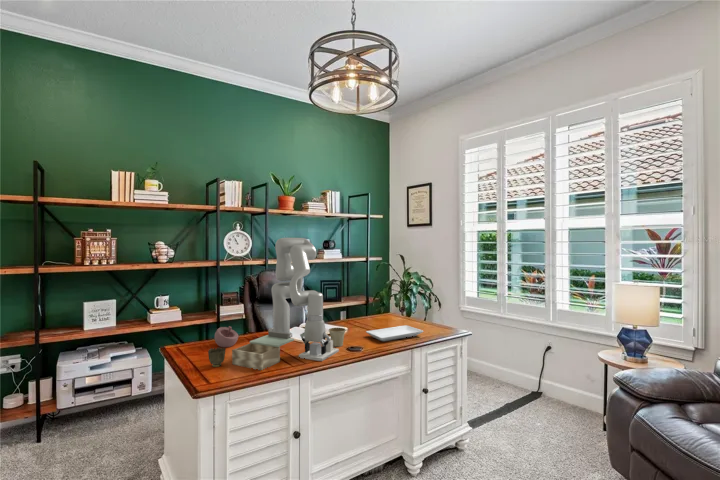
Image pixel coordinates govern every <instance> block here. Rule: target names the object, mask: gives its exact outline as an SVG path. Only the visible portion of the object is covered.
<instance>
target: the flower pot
mask: <svg viewBox="0 0 720 480" xmlns="http://www.w3.org/2000/svg"><path fill="white" fill-rule="evenodd" d="M346 330H347V329H346V328H344V327H331V328H328V332H329V336H330V337H331V339H330V340H333V348H335V347H336V348H337V347H340V348H341V347H342V346H344V338H345V333H346Z"/></svg>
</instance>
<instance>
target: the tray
mask: <svg viewBox="0 0 720 480" xmlns="http://www.w3.org/2000/svg"><path fill="white" fill-rule="evenodd" d="M365 333H366V334H368V335H369V336H371V337H372V338H374V339H376V340H378V341H381V342H388V341H394V340H399V339H405V338H406V337H407V338H411V337H412V336H413V337H416V336H418V335H421V334H422V333H424V330H422V329H419V328H416V327H413V326H410V325H398V326H393V327H385V328H379V329H372V330H366V331H365ZM407 338H406V339H407Z"/></svg>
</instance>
